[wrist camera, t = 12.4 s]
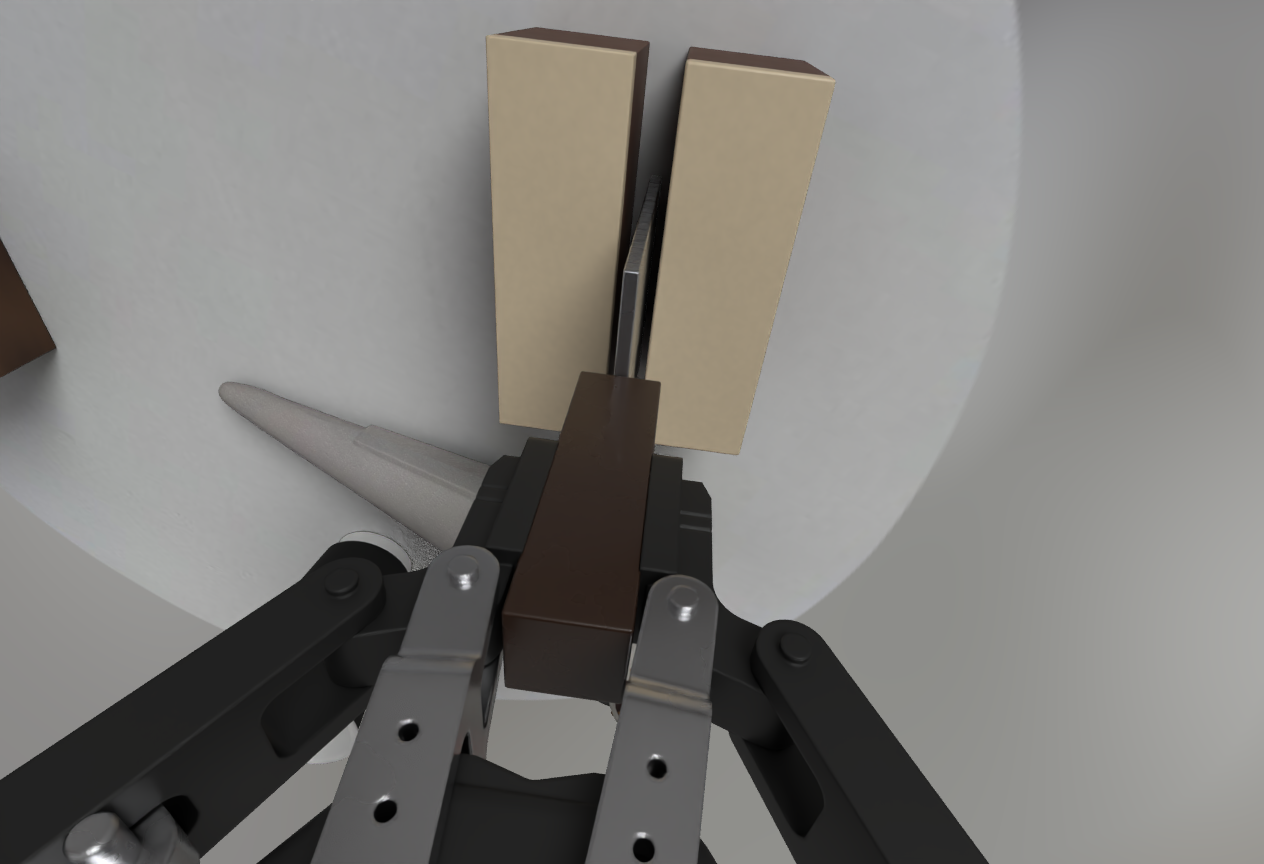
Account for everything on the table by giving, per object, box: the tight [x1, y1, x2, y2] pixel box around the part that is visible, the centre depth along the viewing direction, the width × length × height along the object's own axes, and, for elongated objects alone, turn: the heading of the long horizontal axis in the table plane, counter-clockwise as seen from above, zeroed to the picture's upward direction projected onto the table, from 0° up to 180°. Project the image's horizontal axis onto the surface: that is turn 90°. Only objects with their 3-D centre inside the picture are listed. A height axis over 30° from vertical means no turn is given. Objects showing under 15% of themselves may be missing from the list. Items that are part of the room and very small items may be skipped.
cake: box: [486, 27, 835, 455], centre depth 23 cm, size 13×10×6 cm
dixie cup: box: [301, 532, 411, 764], centre depth 34 cm, size 8×8×11 cm
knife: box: [501, 175, 662, 704], centre depth 18 cm, size 8×2×18 cm, turn 174°
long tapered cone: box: [219, 382, 490, 551], centre depth 33 cm, size 6×6×19 cm
